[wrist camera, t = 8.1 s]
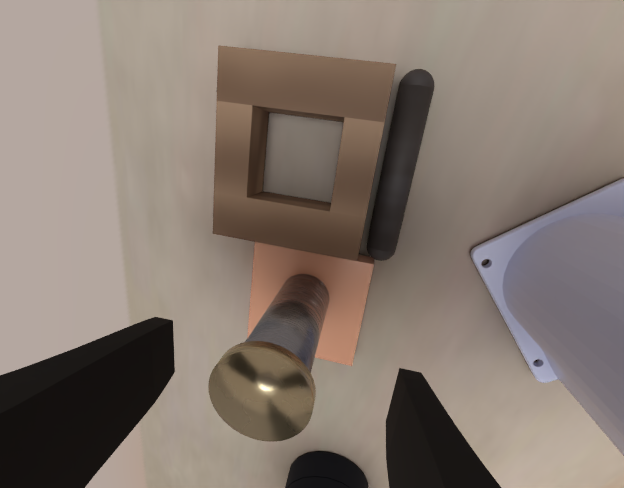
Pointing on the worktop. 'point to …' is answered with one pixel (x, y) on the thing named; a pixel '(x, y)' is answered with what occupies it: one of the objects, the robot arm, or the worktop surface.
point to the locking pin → (274, 365)
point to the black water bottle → (325, 472)
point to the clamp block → (352, 155)
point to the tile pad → (338, 280)
